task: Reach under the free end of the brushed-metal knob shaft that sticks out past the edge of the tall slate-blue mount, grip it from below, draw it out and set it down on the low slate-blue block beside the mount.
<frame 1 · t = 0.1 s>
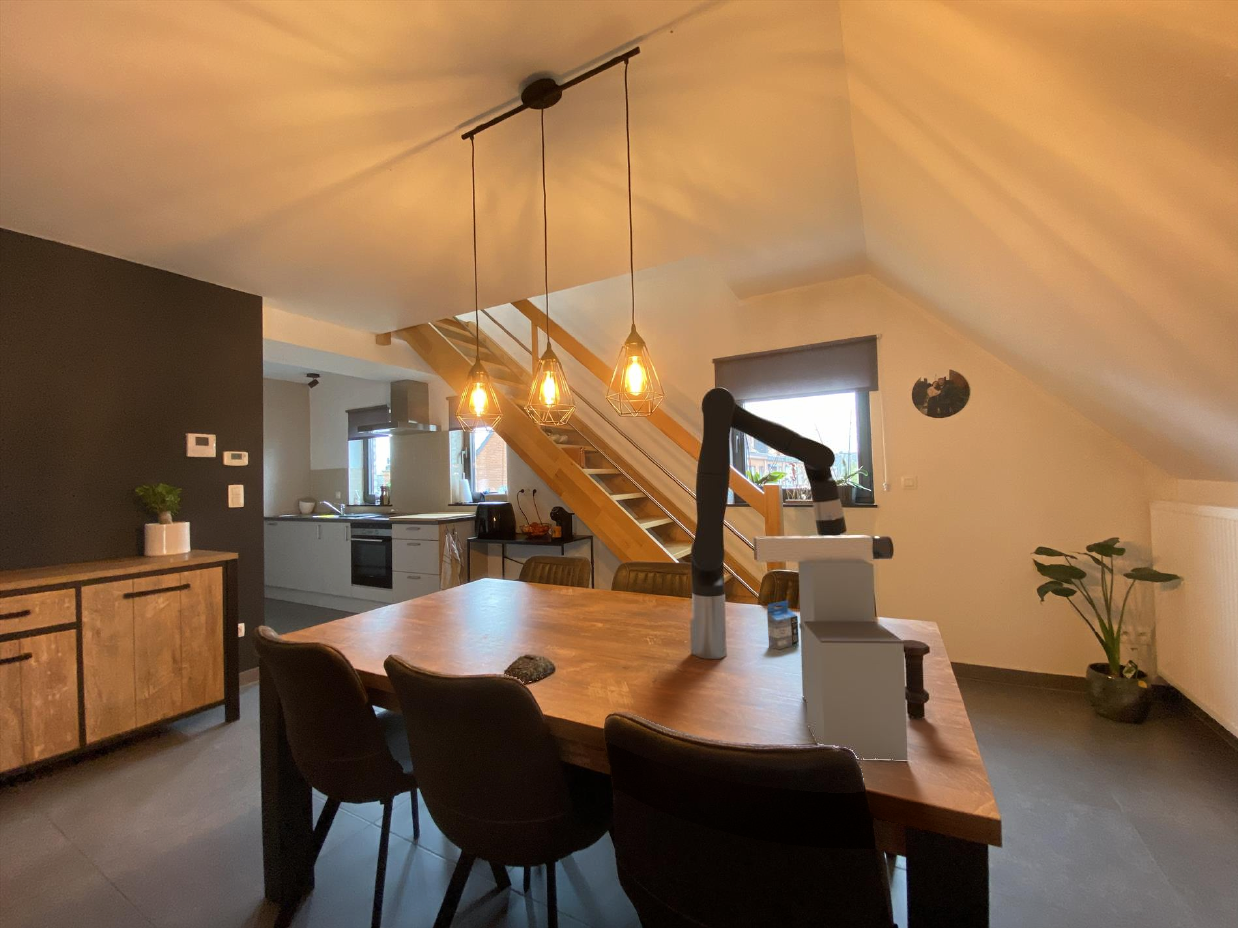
hand: (839, 574, 141), 22 cm above the table, tool pointing down, fingers open, 8 cm apart
bolt: (916, 717, 106), on the table
label tape box: (783, 646, 151), on the table
knob shaft: (812, 559, 111), point 32 cm above the table, touching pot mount
dark brown domed lump: (528, 675, 135), on the table
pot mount: (838, 708, 110), on the table
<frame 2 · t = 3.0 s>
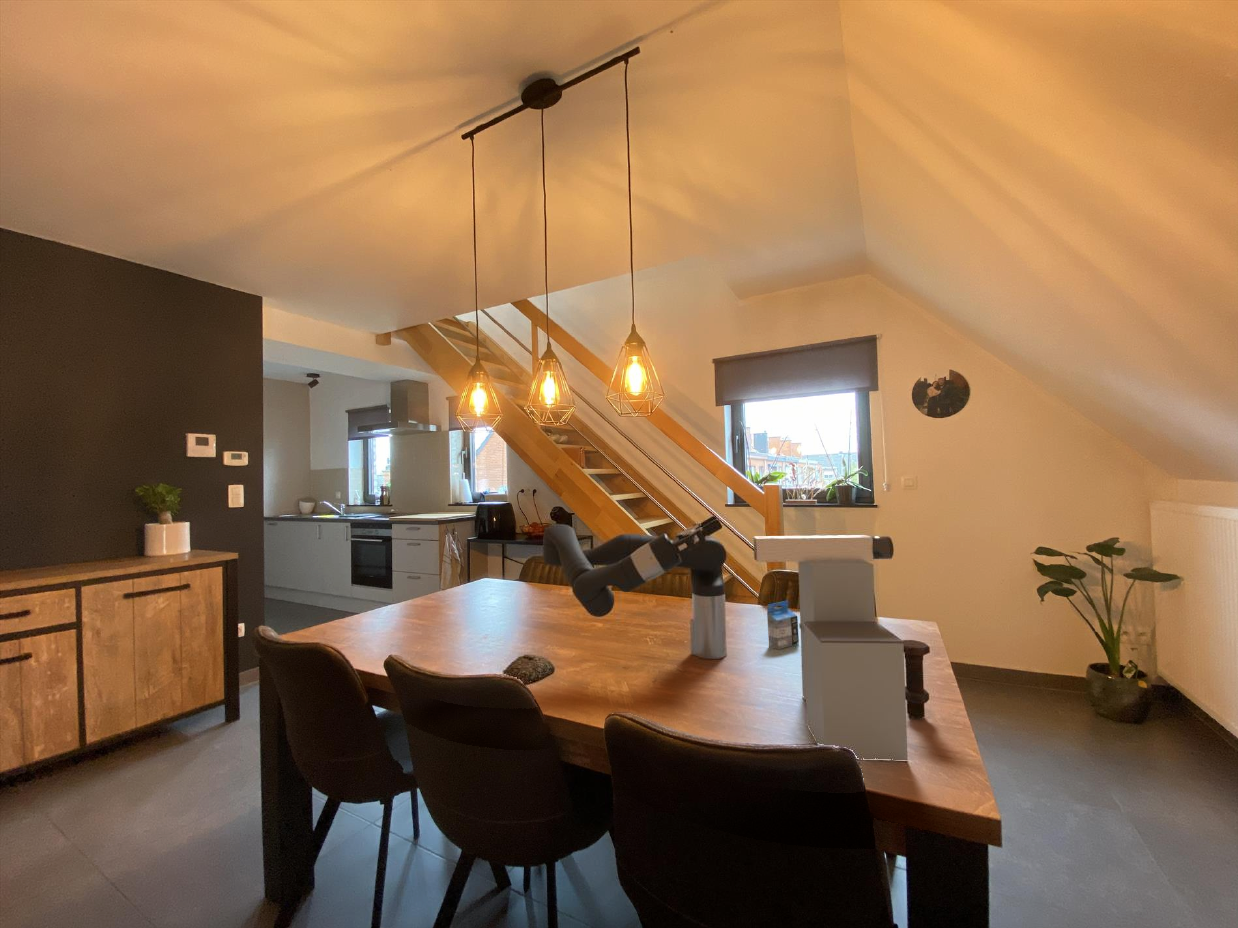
hand: (718, 520, 114), 41 cm above the table, tool pointing upward, fingers open, 8 cm apart
nothing on the table moved.
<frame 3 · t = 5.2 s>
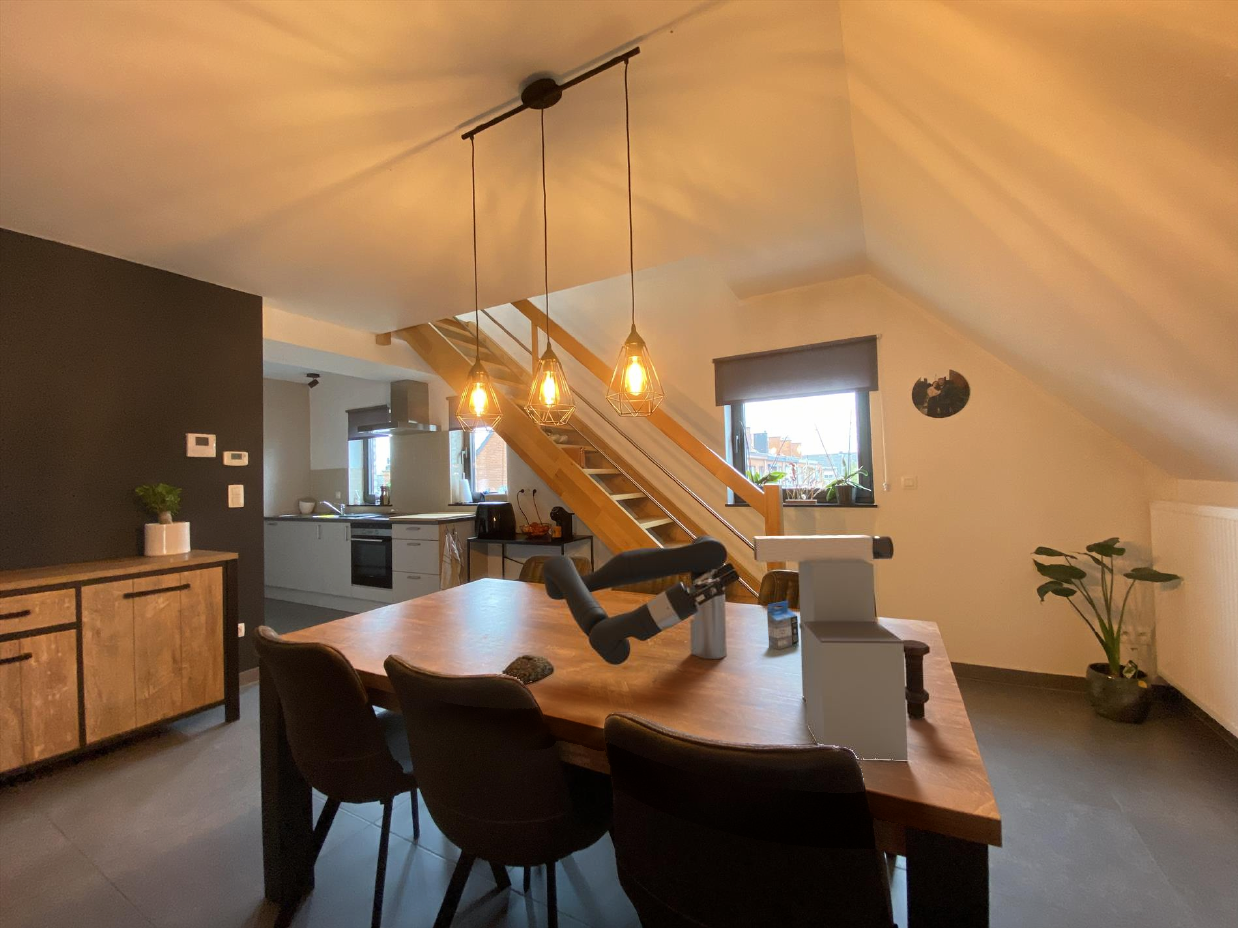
hand: (735, 569, 113), 30 cm above the table, tool pointing upward, fingers open, 8 cm apart
nothing on the table moved.
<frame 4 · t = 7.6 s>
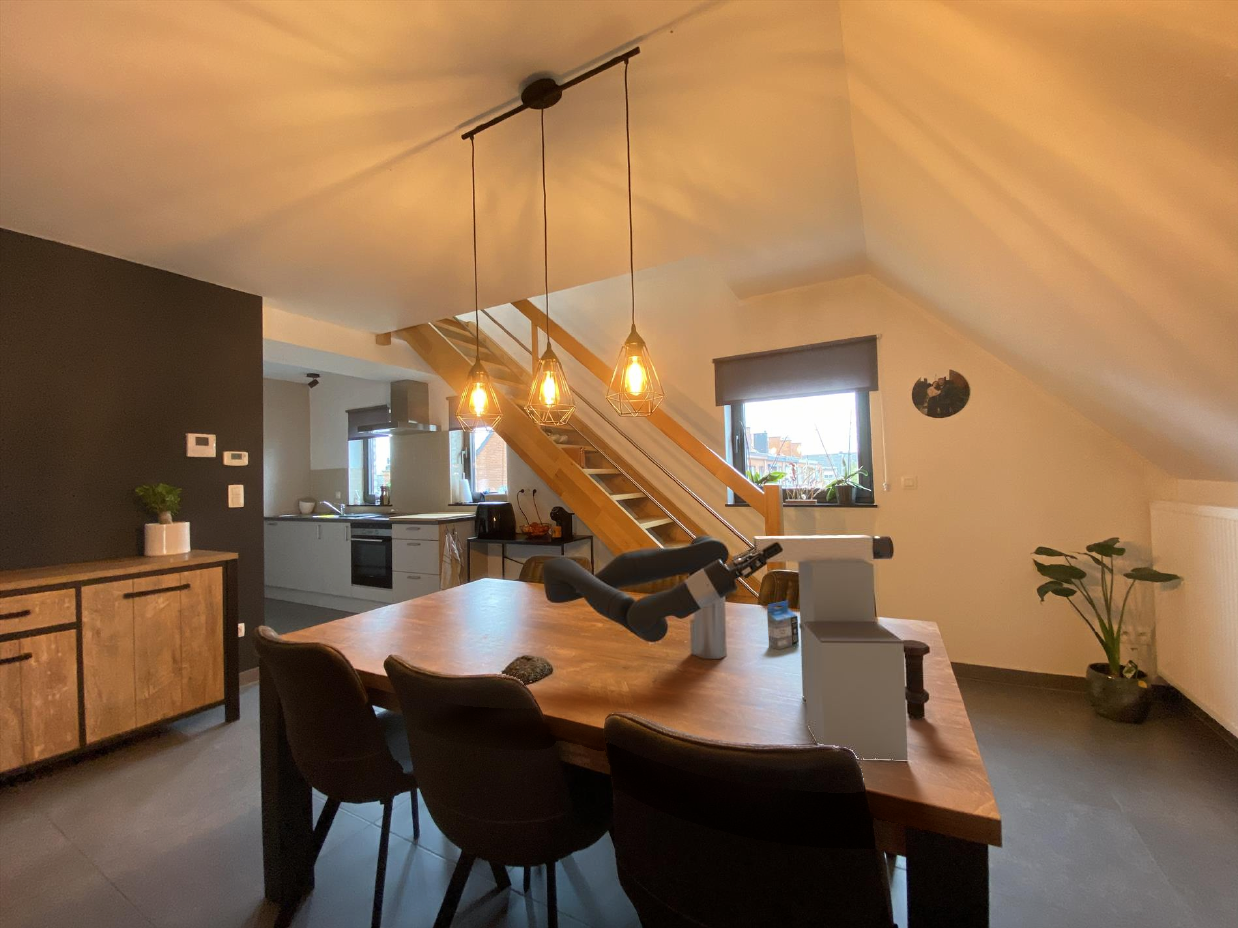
hand: (778, 544, 112), 35 cm above the table, tool pointing upward, fingers closed on knob shaft, 4 cm apart
knob shaft: (812, 559, 111), point 32 cm above the table, touching gripper, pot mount
everything else where it was.
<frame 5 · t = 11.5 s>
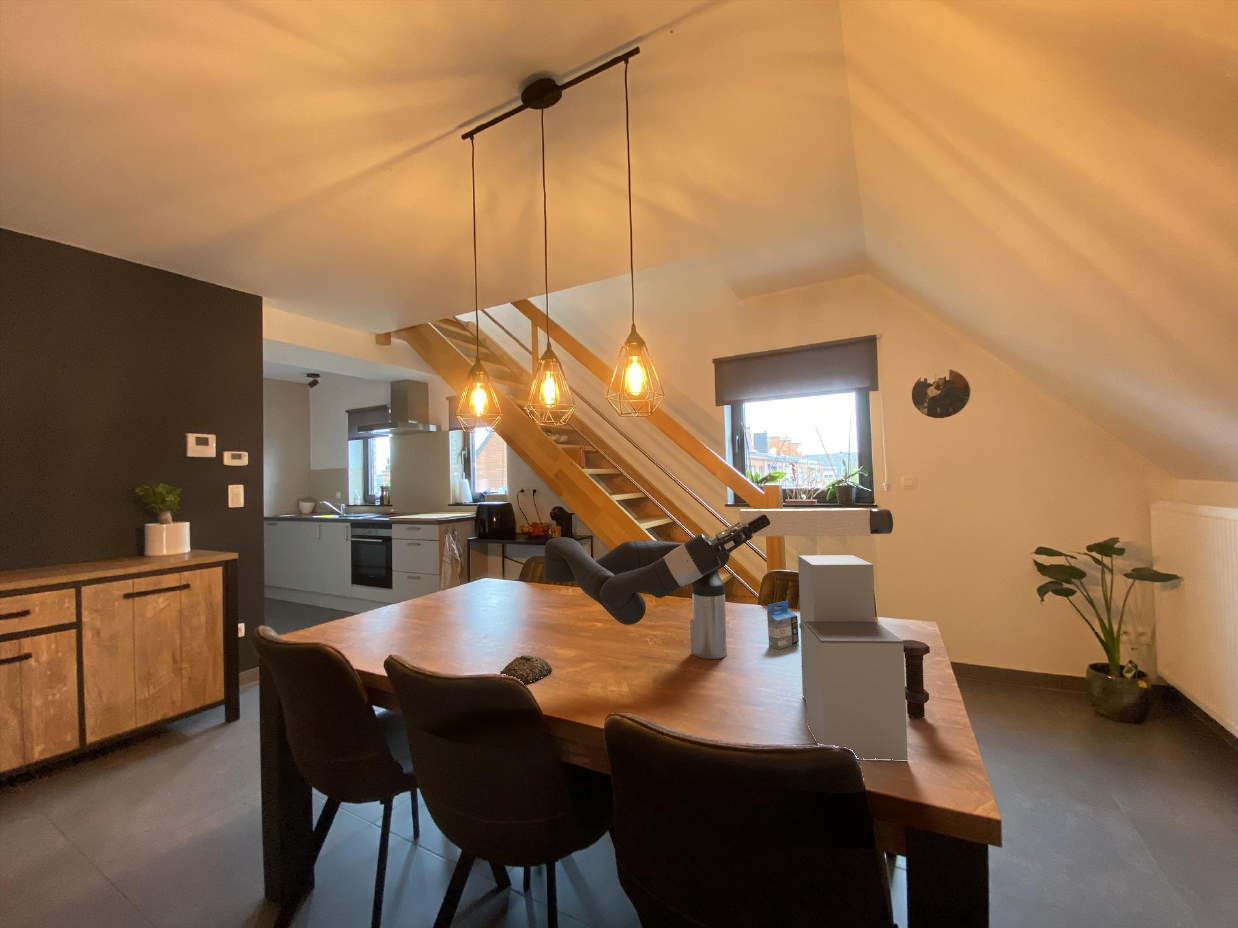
hand: (765, 517, 102), 42 cm above the table, tool pointing upward, fingers closed on knob shaft, 4 cm apart
knob shaft: (802, 534, 101), point 39 cm above the table, touching gripper
when the fingers open (26 cm above the table, at t = 15.5 s): knob shaft drops 2 cm, resting on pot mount.
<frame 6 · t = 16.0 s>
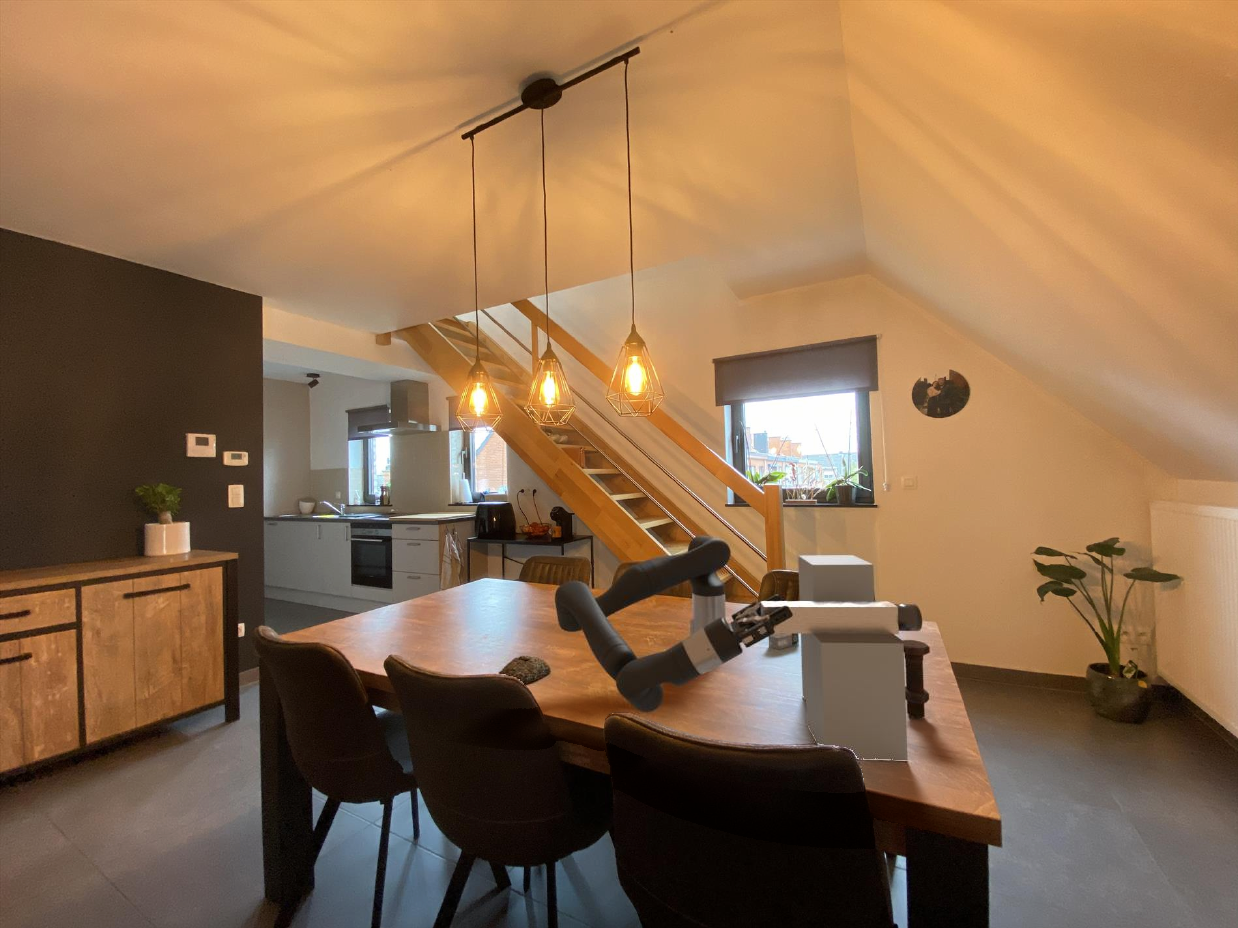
hand: (785, 603, 98), 26 cm above the table, tool pointing upward, fingers open, 8 cm apart
knob shaft: (827, 630, 97), point 21 cm above the table, touching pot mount
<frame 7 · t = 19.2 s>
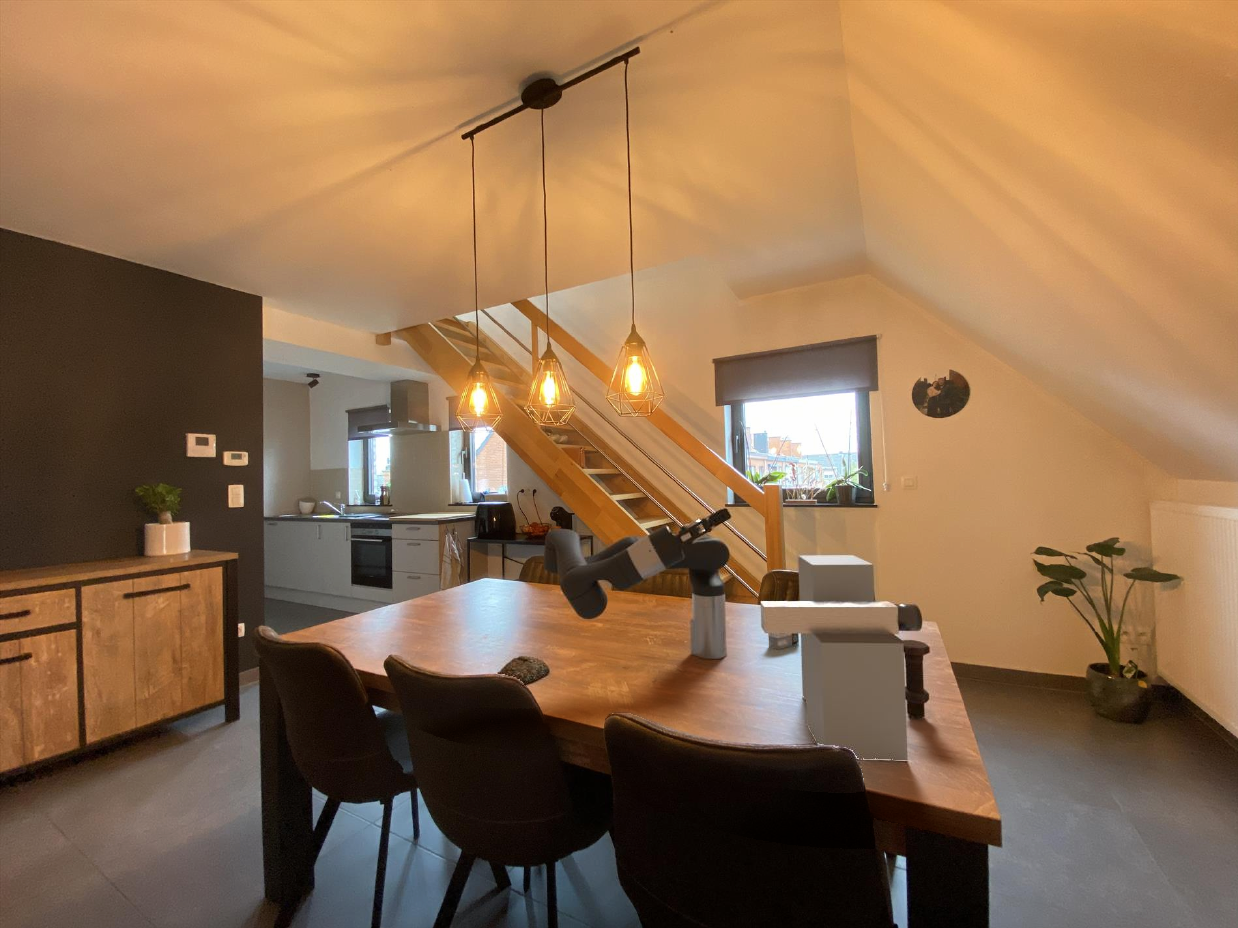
hand: (726, 512, 101), 44 cm above the table, tool pointing upward, fingers open, 8 cm apart
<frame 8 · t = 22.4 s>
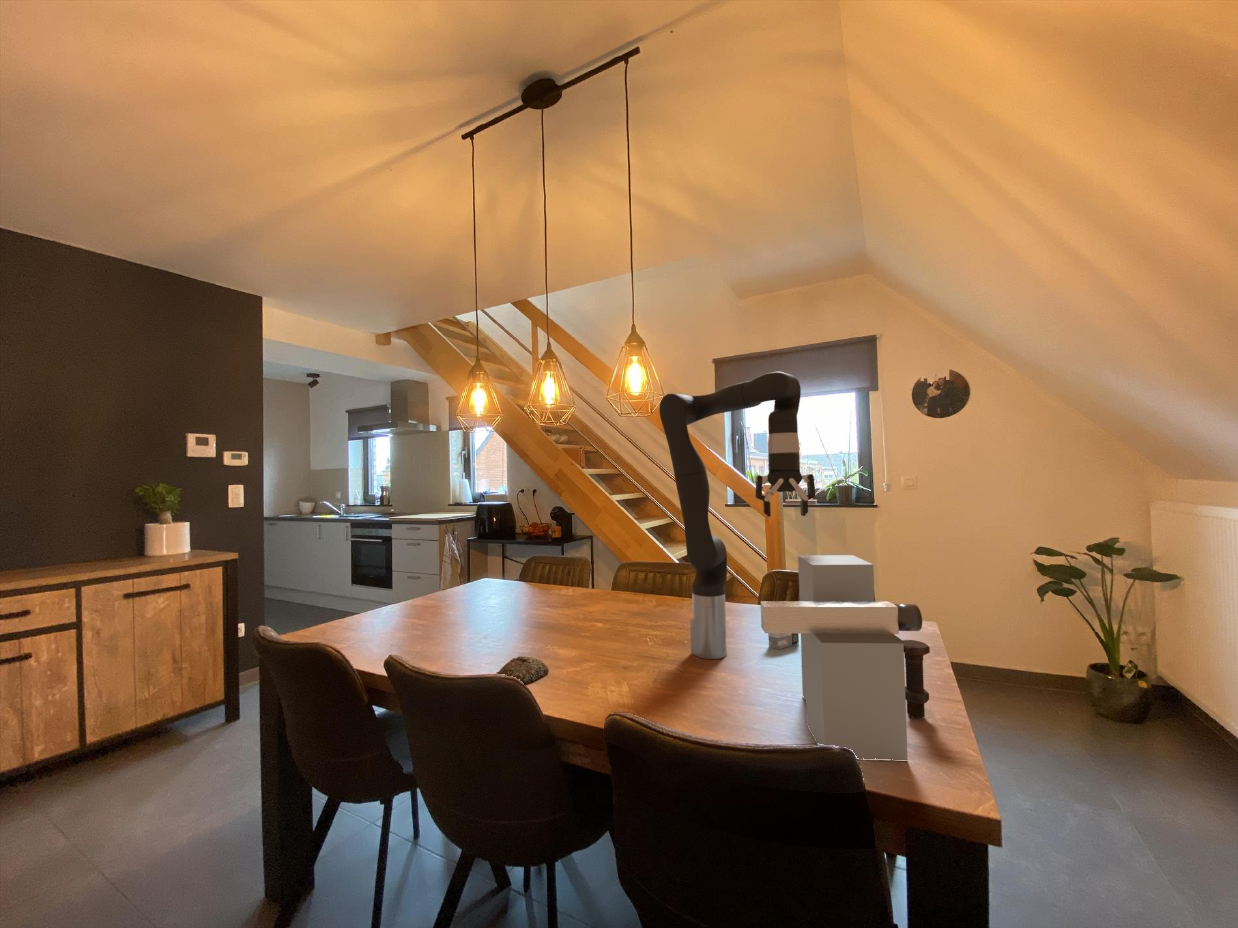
hand: (785, 516, 129), 40 cm above the table, tool pointing down, fingers open, 8 cm apart
at the end: knob shaft inside the target area (1.9 cm from its centre), point 21.0 cm above the table; the gripper is holding nothing; knob shaft moved 17.9 cm from its start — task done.
